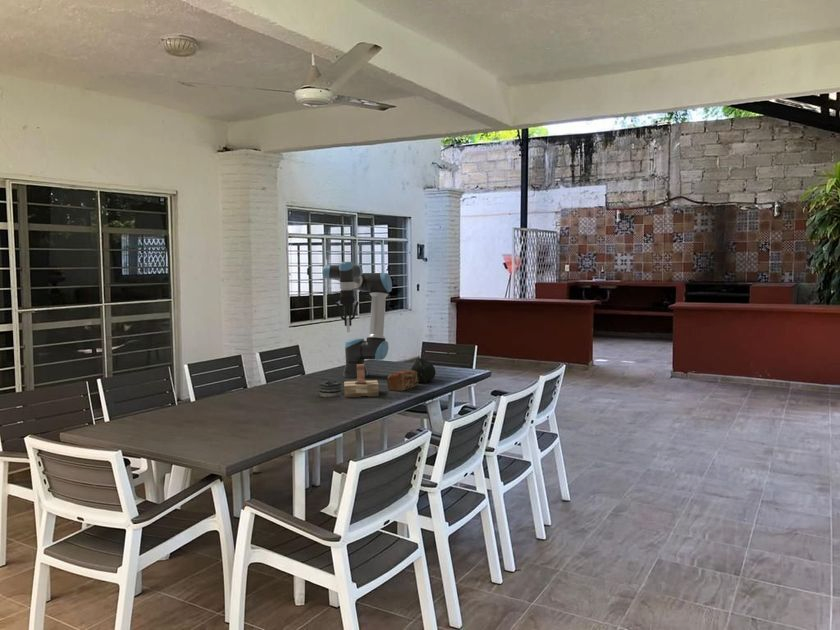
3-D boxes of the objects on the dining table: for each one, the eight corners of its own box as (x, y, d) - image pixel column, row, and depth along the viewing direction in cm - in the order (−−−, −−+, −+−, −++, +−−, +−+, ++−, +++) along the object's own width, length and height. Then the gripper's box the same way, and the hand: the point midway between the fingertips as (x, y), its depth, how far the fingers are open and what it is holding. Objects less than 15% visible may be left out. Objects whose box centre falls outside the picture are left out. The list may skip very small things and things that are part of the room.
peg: (357, 389, 356) (356, 364, 355) (364, 389, 356) (364, 364, 355) (357, 391, 352) (356, 365, 351) (365, 391, 352) (364, 365, 351)
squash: (439, 370, 392) (422, 351, 391) (440, 375, 377) (422, 356, 376) (422, 385, 393) (405, 367, 392) (422, 392, 379) (404, 373, 377)
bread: (402, 391, 358) (402, 373, 357) (386, 390, 364) (385, 372, 363) (419, 385, 374) (419, 368, 374) (403, 384, 380) (403, 367, 379)
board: (344, 392, 360) (344, 381, 360) (377, 390, 362) (377, 380, 362) (344, 397, 346) (344, 386, 346) (378, 395, 348) (378, 384, 348)
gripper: (335, 290, 360) (336, 333, 362) (358, 289, 361) (360, 332, 363) (335, 289, 367) (336, 331, 369) (358, 288, 369) (359, 330, 371)
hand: (348, 331), depth 366 cm, fingers closed
